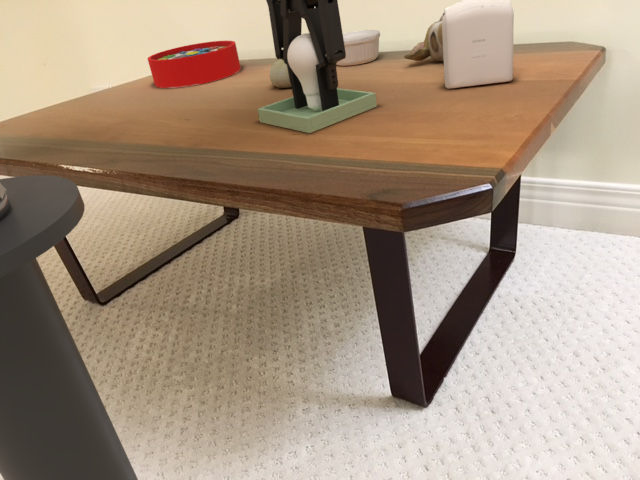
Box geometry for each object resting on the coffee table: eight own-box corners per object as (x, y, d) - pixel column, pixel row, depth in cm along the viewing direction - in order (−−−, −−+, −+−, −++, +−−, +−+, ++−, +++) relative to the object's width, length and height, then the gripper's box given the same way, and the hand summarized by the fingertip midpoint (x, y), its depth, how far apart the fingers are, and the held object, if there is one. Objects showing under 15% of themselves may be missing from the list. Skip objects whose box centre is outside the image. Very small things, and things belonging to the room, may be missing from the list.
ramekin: (337, 57, 120) (334, 32, 118) (387, 53, 116) (385, 27, 114) (322, 69, 111) (318, 42, 109) (375, 65, 107) (372, 37, 105)
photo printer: (444, 91, 83) (442, 4, 77) (443, 84, 87) (440, 1, 81) (515, 83, 81) (517, -6, 75) (510, 76, 85) (512, -9, 79)
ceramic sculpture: (491, 0, 99) (451, 21, 90) (492, 48, 103) (454, 73, 95) (439, 4, 106) (397, 24, 97) (443, 49, 110) (403, 72, 101)
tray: (309, 133, 74) (307, 118, 73) (259, 122, 83) (257, 108, 82) (376, 106, 81) (375, 92, 80) (324, 98, 90) (322, 86, 89)
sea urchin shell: (305, 78, 96) (274, 47, 96) (285, 109, 102) (255, 79, 102) (330, 66, 103) (300, 36, 103) (310, 95, 108) (281, 67, 108)
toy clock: (128, 62, 120) (186, 43, 134) (136, 89, 122) (192, 67, 137) (197, 58, 110) (252, 38, 125) (204, 87, 113) (257, 64, 128)
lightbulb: (295, 118, 79) (281, 40, 74) (298, 108, 85) (285, 34, 79) (336, 112, 78) (325, 33, 73) (337, 102, 84) (326, 27, 79)
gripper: (361, -80, 66) (379, 108, 77) (271, -62, 79) (298, 96, 90) (314, -73, 62) (340, 123, 73) (228, -55, 75) (261, 108, 86)
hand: (316, 108), depth 81 cm, fingers closed on lightbulb, 6 cm apart
